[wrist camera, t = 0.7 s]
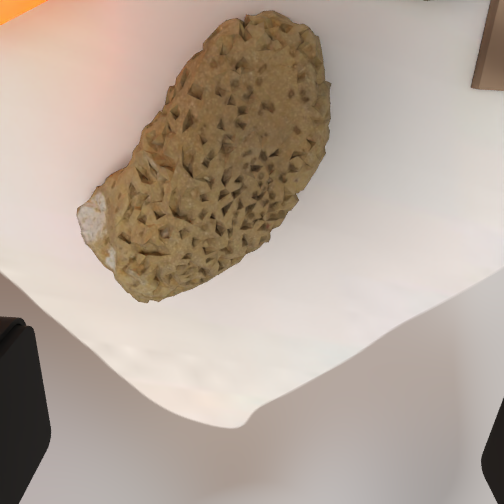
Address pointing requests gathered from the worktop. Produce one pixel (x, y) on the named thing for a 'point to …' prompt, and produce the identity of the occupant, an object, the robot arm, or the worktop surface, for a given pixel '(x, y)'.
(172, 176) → the sponge
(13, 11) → the orange juice
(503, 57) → the walnut board
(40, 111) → the worktop surface
